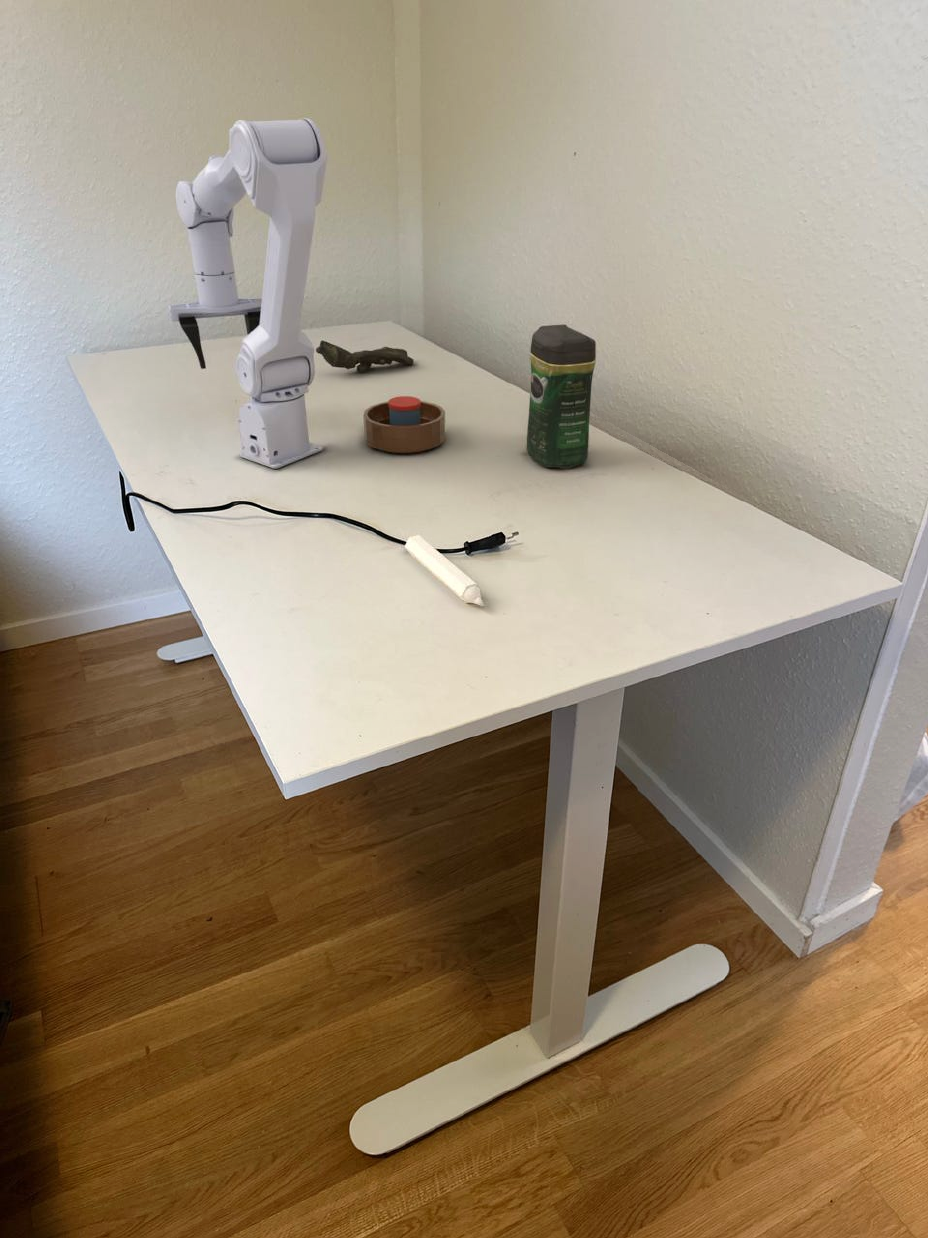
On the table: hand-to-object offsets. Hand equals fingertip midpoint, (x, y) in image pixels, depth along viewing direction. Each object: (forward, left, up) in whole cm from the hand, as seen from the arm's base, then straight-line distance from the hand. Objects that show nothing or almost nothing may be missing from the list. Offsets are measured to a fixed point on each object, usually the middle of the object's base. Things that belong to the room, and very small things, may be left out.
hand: (228, 364), depth 133 cm
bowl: (+11, -27, -9) cm, 30 cm away
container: (+11, -27, -9) cm, 30 cm away
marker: (-19, -59, -10) cm, 63 cm away
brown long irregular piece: (+34, +3, -10) cm, 35 cm away
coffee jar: (+19, -49, -10) cm, 53 cm away
